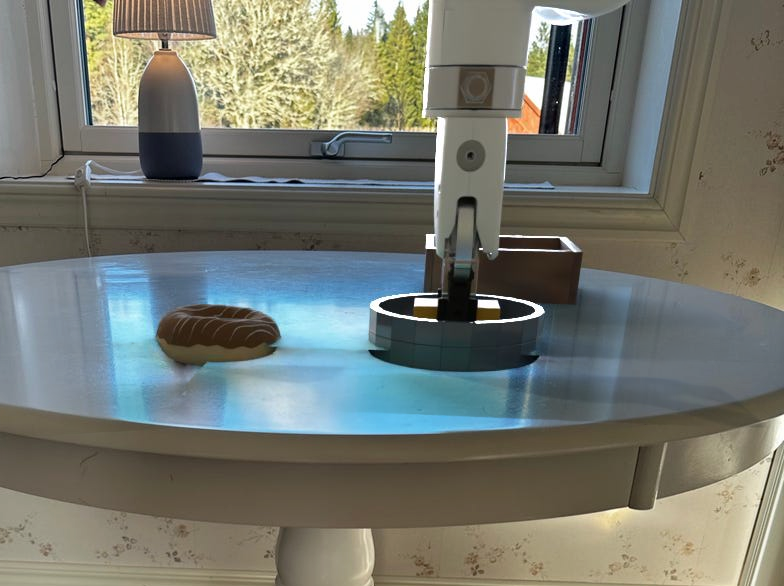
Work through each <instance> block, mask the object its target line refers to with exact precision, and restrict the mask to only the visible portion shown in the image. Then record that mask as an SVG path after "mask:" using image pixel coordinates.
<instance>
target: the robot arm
mask: <svg viewBox="0 0 784 586" xmlns="http://www.w3.org/2000/svg"><path fill="white" fill-rule="evenodd" d="M629 2H631V0H429V4H428V5H429V7H428V20H427V21H428V24H427V37H426V38H427V40H426V58H425V67H426V68H425V73H424V89H423V106H422V107H423V110H422V118H438V119H437V135H436V148H435V149H436V152H435V170H434V189H433V190H434V191H433V192H434V193H433V194H434V195H433V226H434V227H433V229H434V234H435V243H436V253H437V255H439V256H440V257H441V258H442V259H443V264H442V277H441V288H442V289H438V294H437V299H438V308H437V320H442V321H469V322H475V321H476V318H477V307H478V299H476V291H477V278H478V266H479V253H480V247H482V250H483V252H484V253H487V256H488V258H489V260H493V259H495V258H496V257H497V256H498V252H499V237H500V236H501V235H500V234H501V223H502V222H501V221H502V213H503V212H502V210H503V198H504V189H505V188H504V187H505V177H506V163H507V148H508V147H507V145H508V144H507V143H508V119H522V116H523V106H524V99H525V98H524V97H525V88H526V87H525V86H526V78H527V67H528V59H529V47H530V40H531V39H530V38H531V28H532V19H533V15H534V16H535V17H536V18H538V19H539V20H541V21H543V22H545V23H547V24H551V25H557V26H566V25H571V24H575V23H578V22H581V21H584V20H591V19H594V18H597V17H600V16H603V15H607V14H610V13H612V12H614V11H616V10H618V9H620V8H622V7H623V6H626V4H628V3H629Z"/></svg>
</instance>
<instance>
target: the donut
mask: <svg viewBox="0 0 784 586" xmlns="http://www.w3.org/2000/svg"><path fill="white" fill-rule="evenodd" d="M155 337H156V339H157V341H158V342H157V343H158V346H159V349H160V350H161V351H162V352H163V354H165V355H166V356H167V358H169V359H172V360H173V361H176V362H178V363H181V364H185V365H189V366H195V367H204V366H205V365H206V364H207V363H234V362H244V361H252V360H258V359H262V358H265V357H268V356H271V355H273V354H274V353H275V352H276V351H277V349H278V346H273V345H272V344H274V343H276V342H278V341H279V340H280V339H281V338H282V336H281V330H280V328H279V325H278V323H277V321H276V320H275V318H273V317H271V316H270V315H268V314H266V313H265V312H263V311H261V310H256V309H253V308H251V307H245V306H243V307H242V306H237V305H236V306H235V305H228V304H212V303H211V304H210V303H197V304H190V305H180V306H178V307H175V308H173V309H172V310H170V311H168V312H167V313H165V314H164V315H163V316H162V317H161V319H160V320H159V322H158V325H157V329H156V333H155Z"/></svg>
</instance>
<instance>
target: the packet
mask: <svg viewBox="0 0 784 586" xmlns="http://www.w3.org/2000/svg"><path fill="white" fill-rule="evenodd" d="M437 308H438V299H431V298H415V304H414V318H419V319H430V320H437ZM499 318H500V306H499V304H498V301H497V300H478V307H477V318H476V321H499Z"/></svg>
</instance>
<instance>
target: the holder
mask: <svg viewBox="0 0 784 586" xmlns="http://www.w3.org/2000/svg"><path fill="white" fill-rule="evenodd" d="M425 239H426V241H425V255H424V268H423V269H424V272H423V288H422V289H423V290H422V293H438V289H442V288H441V277H442V264H443V259H442V258H441V257H440V256H439V255H437V253H436V243H435V233H434V234H432V233H431V234H429V233H427V234H426V238H425ZM583 254H584V251H582V249H580V248H579V247H578V246H577V245H576V244H575V243H573V242H572V241H571V240H570V239H569V238H568V237H567V236H529V235H527V236H526V235H524V236H523V235H500V237H499V252H498V256H497V257H496V258H495V259H493V260H489V258H488V256H487V253H484V252H483V250H482V247H480V253H479V266H478V278H477V291H476V294H479V295H491V296H499V297H506V298H513V299H518V300H522V301H527V302H531V303H533V304H536V305H538V304H541V305H544V304H545V305H574V306H575V305H577V298H578V292H579V291H578V290H579V286H580V285H579V284H580V278H581V277H580V276H581V268H582V263H583V257H584V256H583Z"/></svg>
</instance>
